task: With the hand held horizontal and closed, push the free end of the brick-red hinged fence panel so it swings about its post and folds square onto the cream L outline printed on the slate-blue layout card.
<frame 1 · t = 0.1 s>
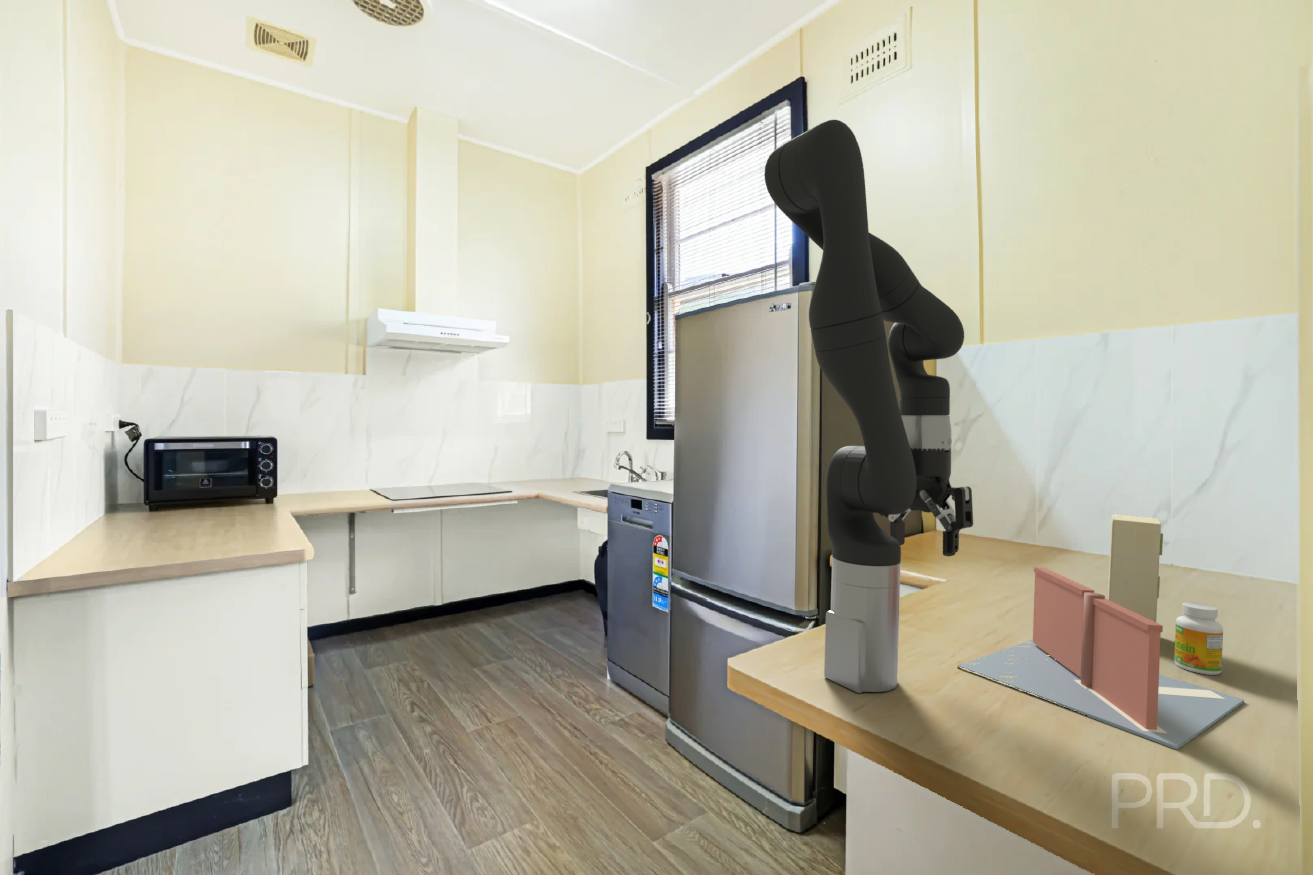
hand: (922, 550, 91), 17 cm above the counter, tool pointing down, fingers open, 8 cm apart
supplement bottle: (1197, 669, 91), on the counter
layout card: (1092, 684, 85), on the counter
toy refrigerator: (1132, 638, 105), on the counter
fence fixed: (1091, 688, 83), resting on layout card
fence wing: (1060, 618, 91), point 7 cm above the counter, hinge at 0.0°
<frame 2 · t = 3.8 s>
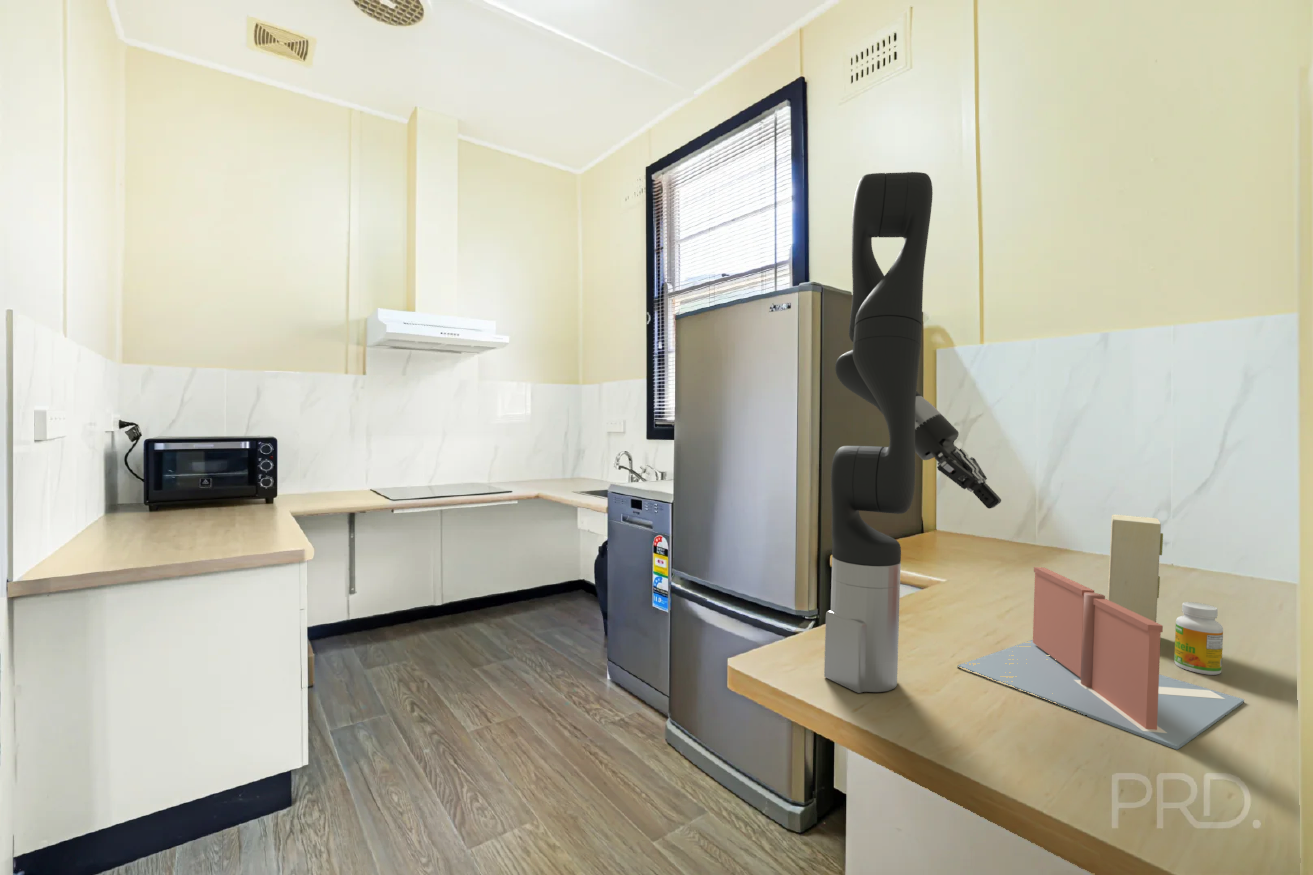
hand: (995, 505, 97), 24 cm above the counter, tool tilted 45°, fingers closed
nothing on the counter moved.
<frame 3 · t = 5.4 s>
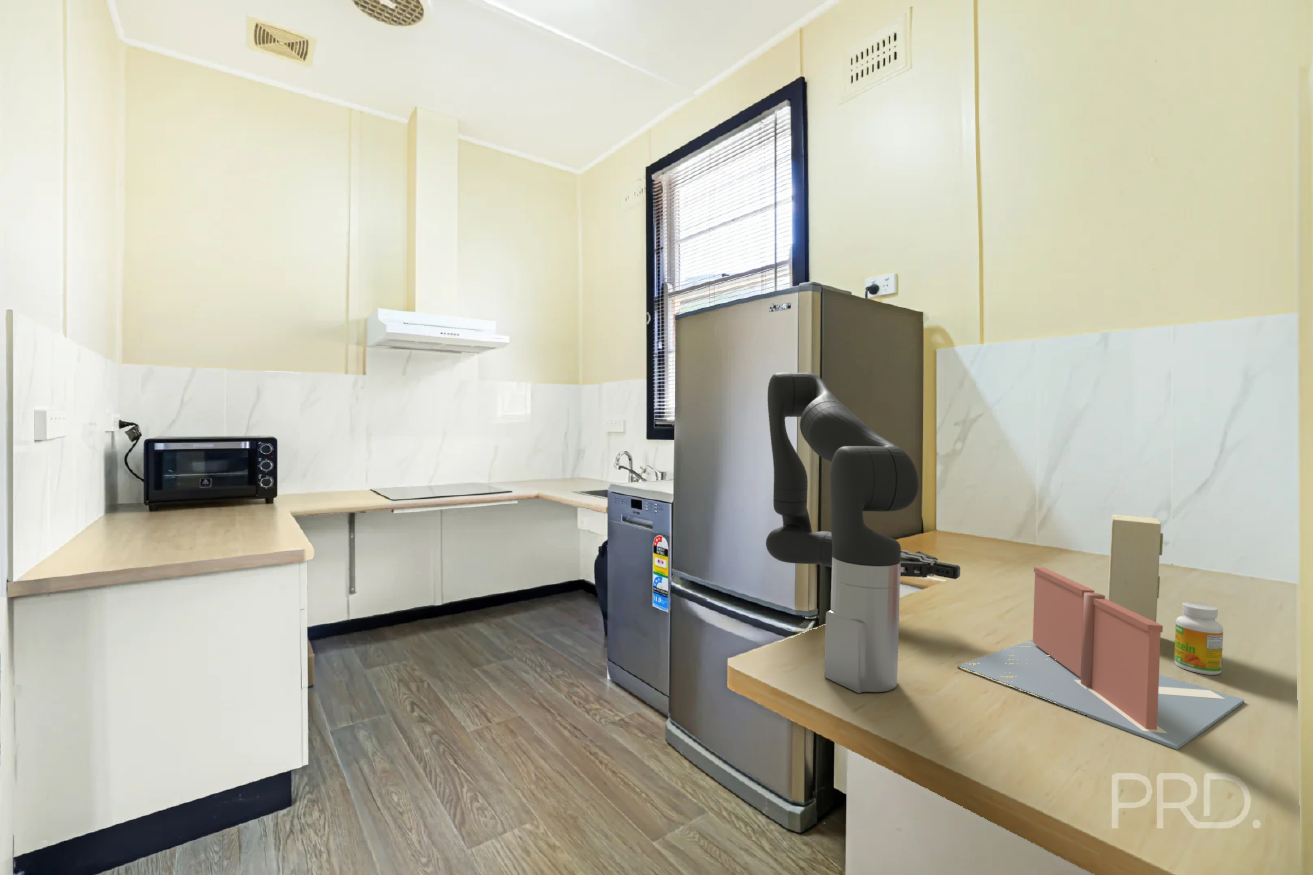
hand: (958, 572, 104), 11 cm above the counter, tool horizontal, fingers closed
nothing on the counter moved.
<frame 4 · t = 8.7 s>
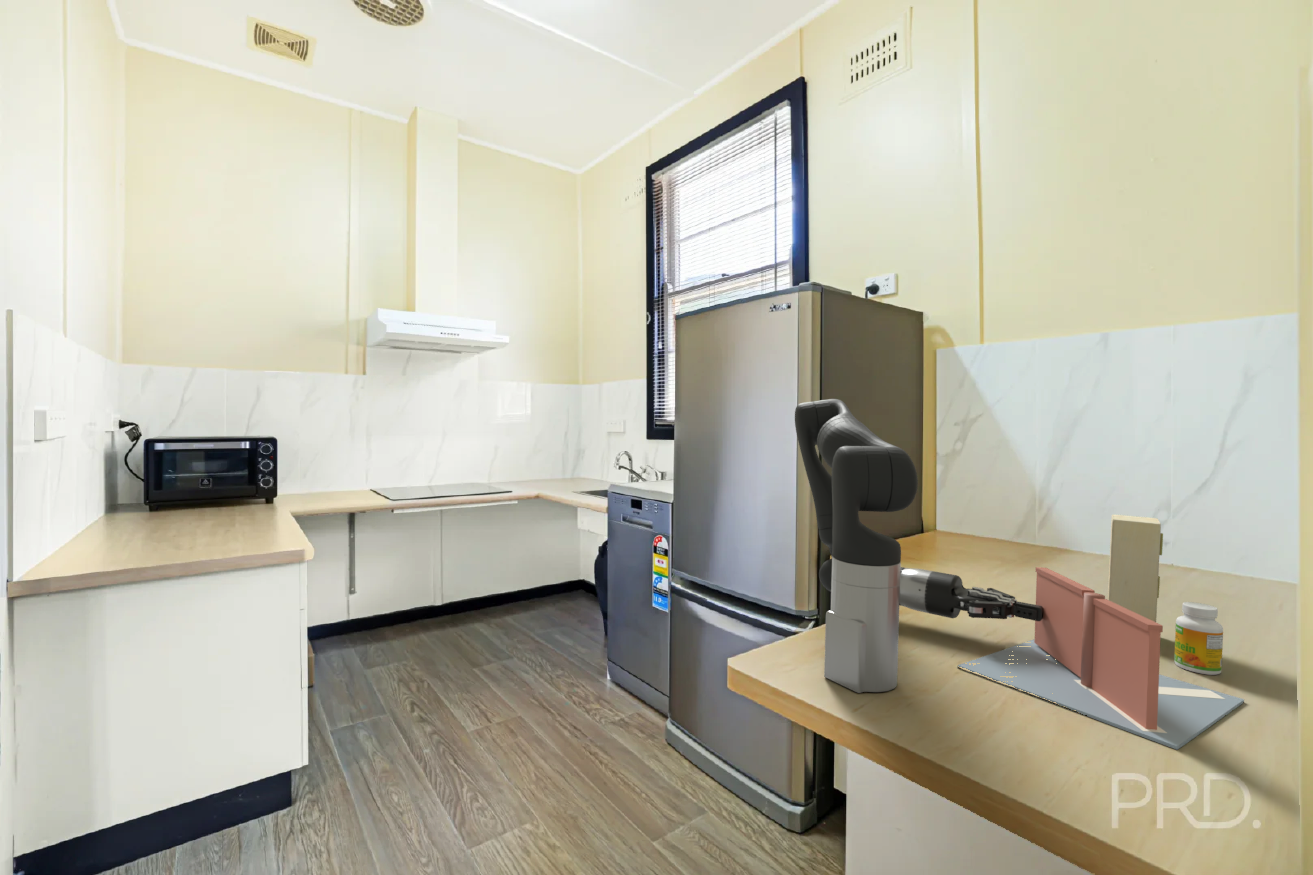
hand: (1042, 613, 95), 7 cm above the counter, tool horizontal, fingers closed
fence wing: (1061, 618, 91), point 7 cm above the counter, hinge at 1.0°, touching gripper
everything else where it was.
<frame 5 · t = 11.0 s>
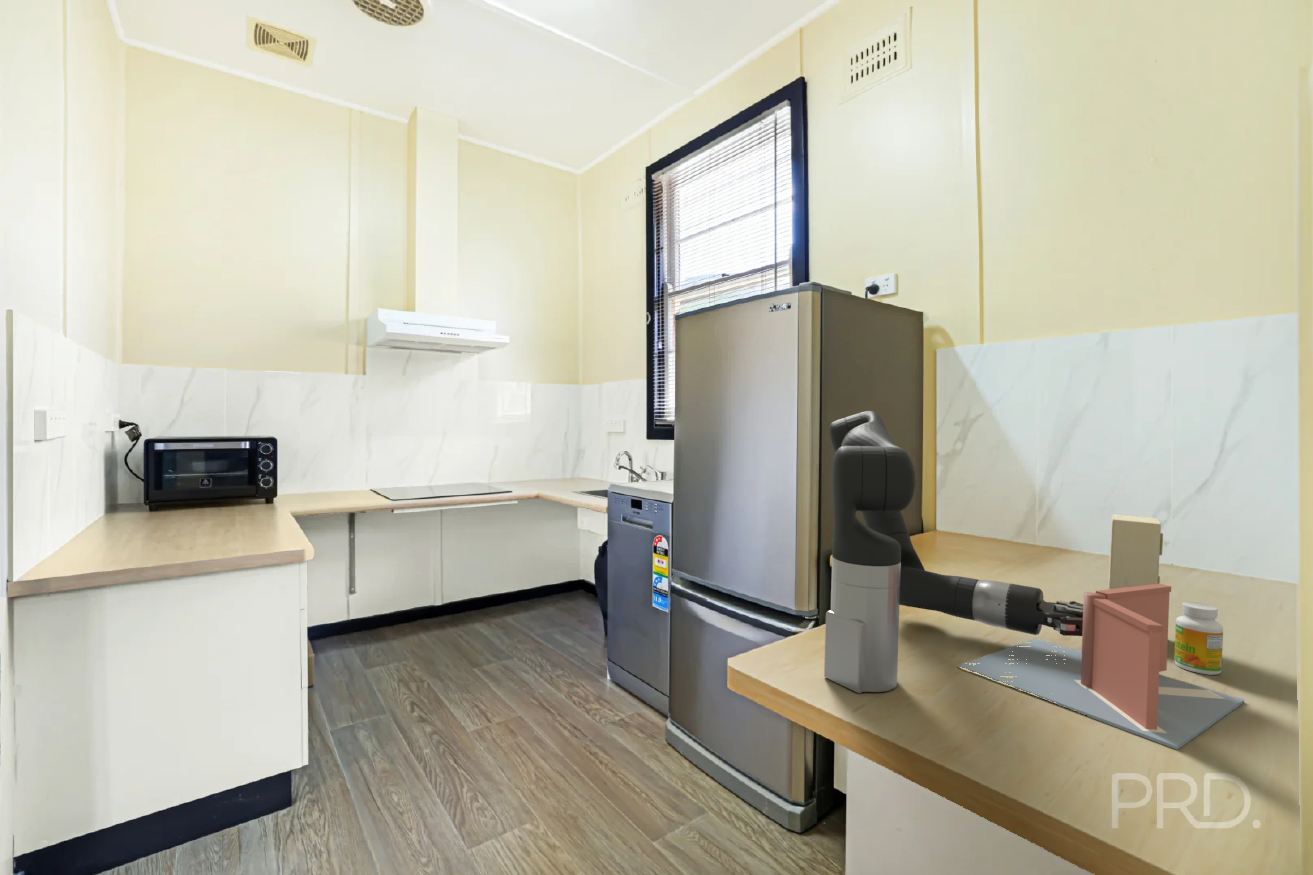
hand: (1140, 631, 88), 7 cm above the counter, tool horizontal, fingers closed
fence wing: (1132, 631, 86), point 7 cm above the counter, hinge at 61.6°, touching gripper
everything else where it was.
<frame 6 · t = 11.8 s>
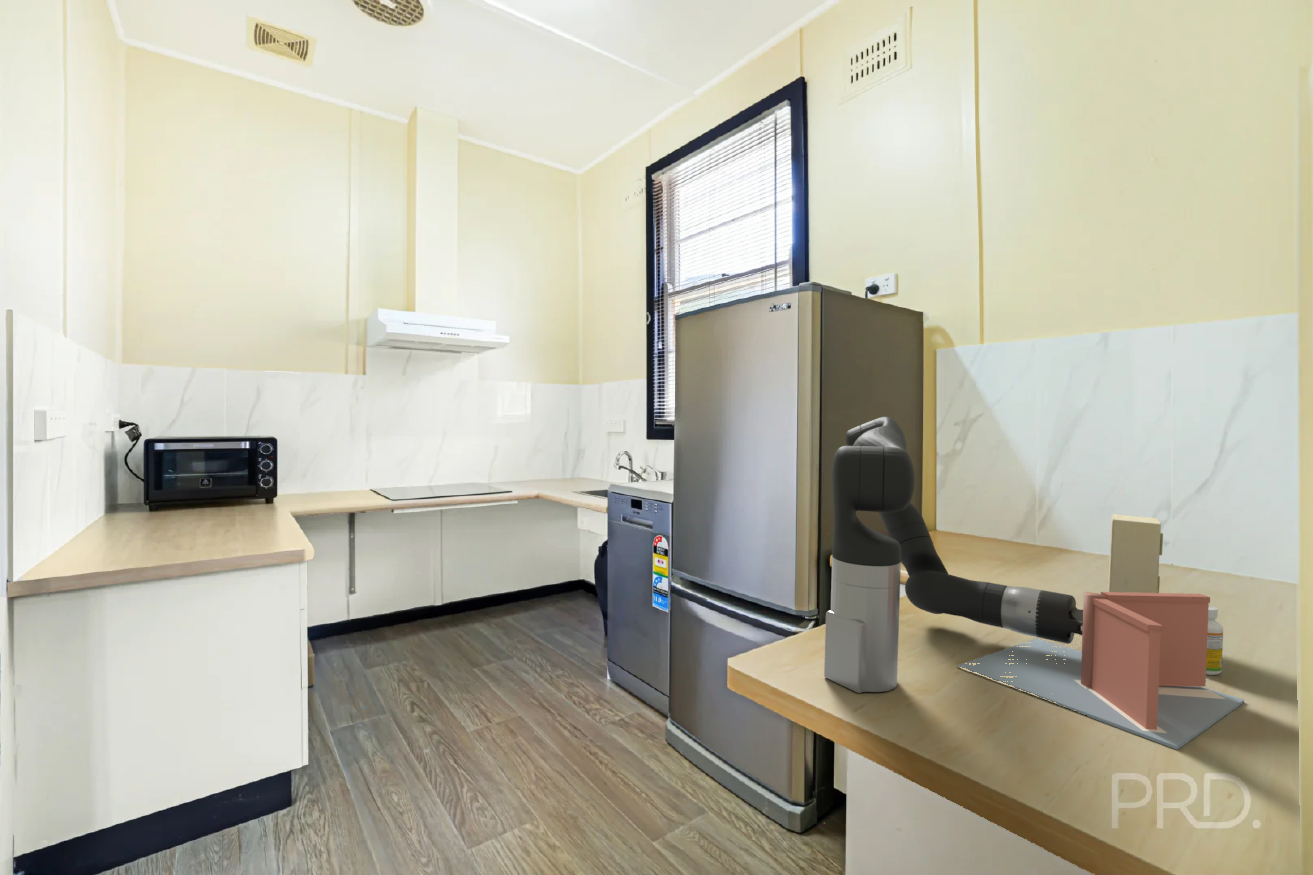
hand: (1180, 641, 84), 6 cm above the counter, tool horizontal, fingers closed
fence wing: (1153, 639, 83), point 7 cm above the counter, hinge at 81.8°, touching gripper
everything else where it was.
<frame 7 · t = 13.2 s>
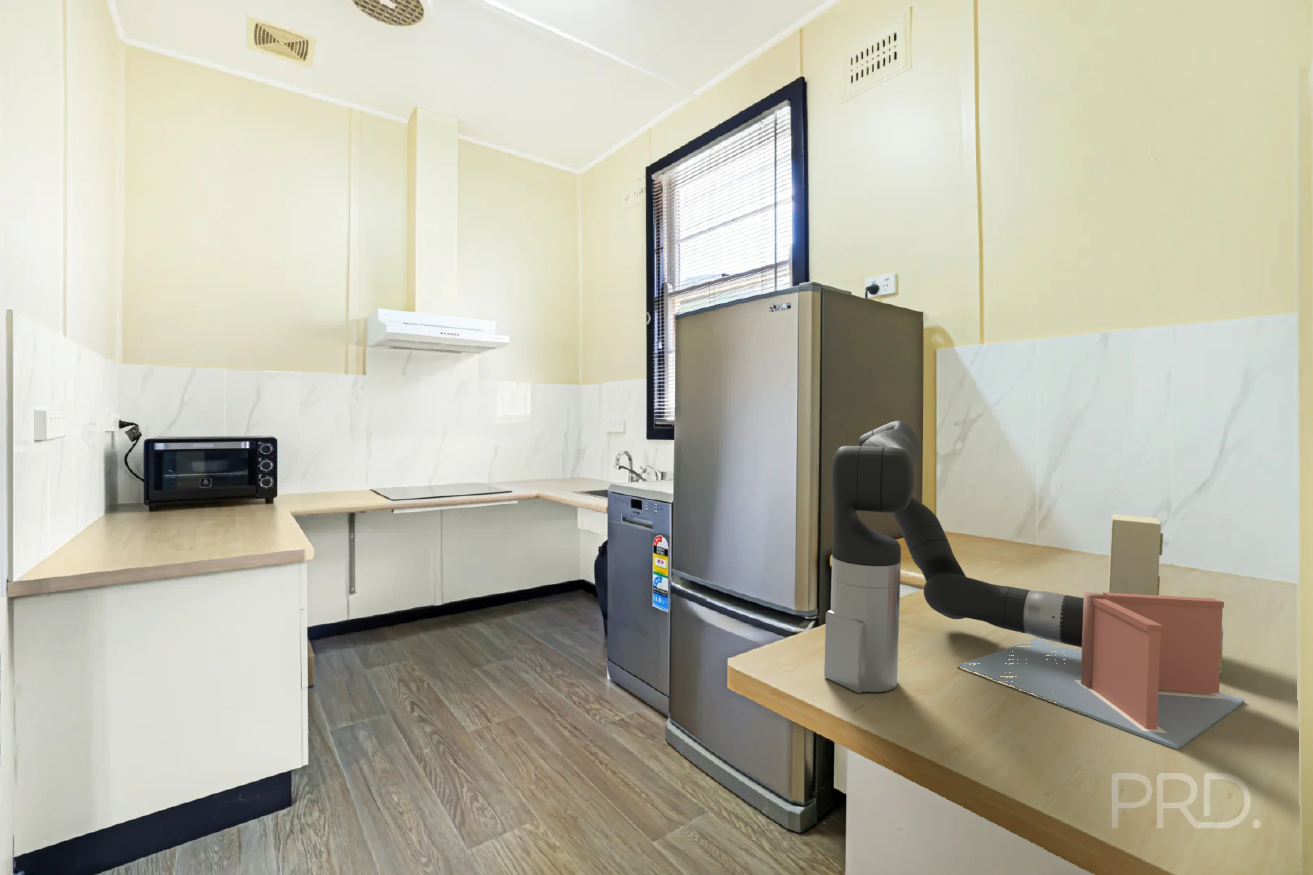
hand: (1211, 648, 82), 6 cm above the counter, tool horizontal, fingers closed
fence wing: (1160, 642, 82), point 7 cm above the counter, hinge at 90.3°, touching gripper
everything else where it was.
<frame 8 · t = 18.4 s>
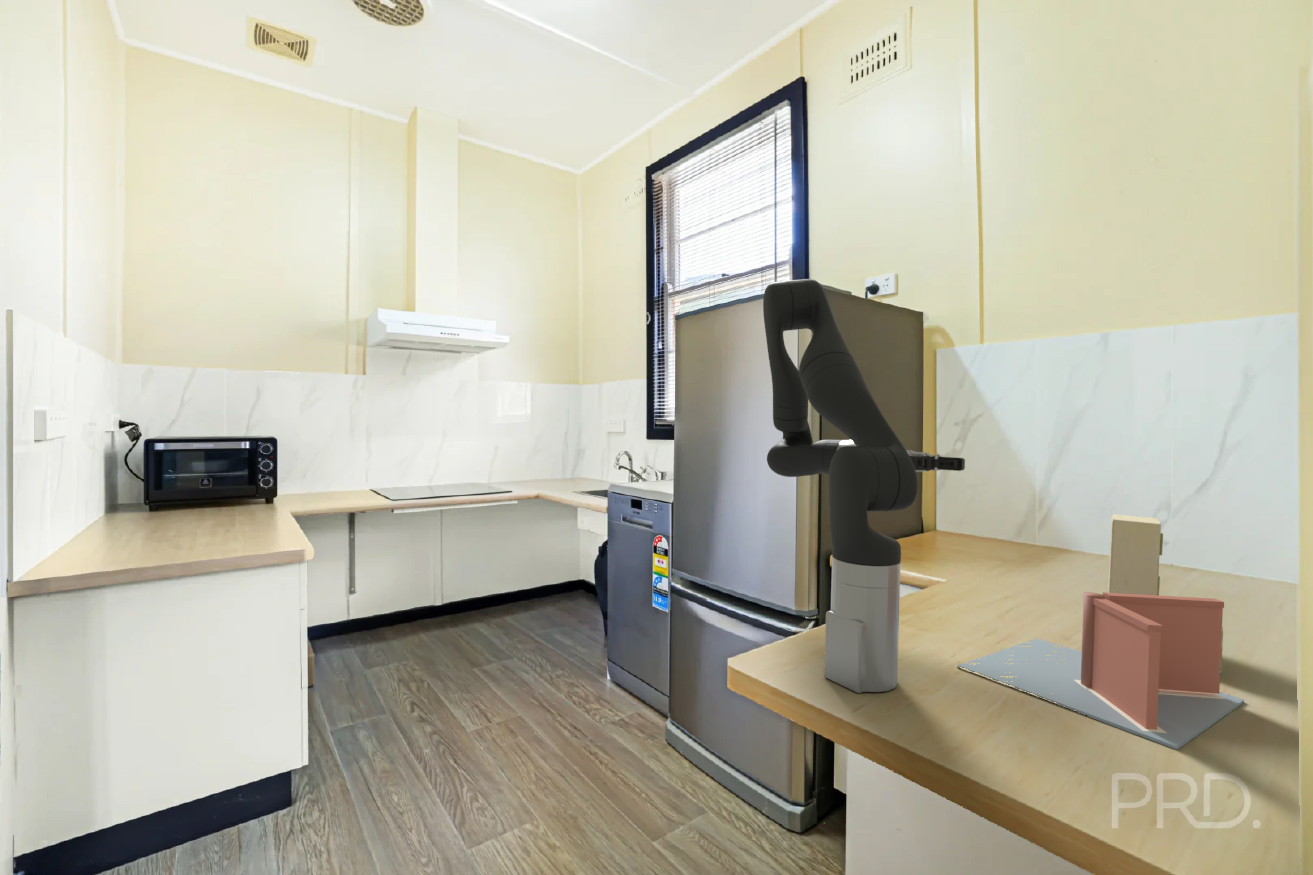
hand: (963, 464, 102), 30 cm above the counter, tool horizontal, fingers closed
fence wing: (1160, 642, 82), point 7 cm above the counter, hinge at 90.5°
everything else where it was.
at the end: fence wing at +90° (first picture: +0°) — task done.
